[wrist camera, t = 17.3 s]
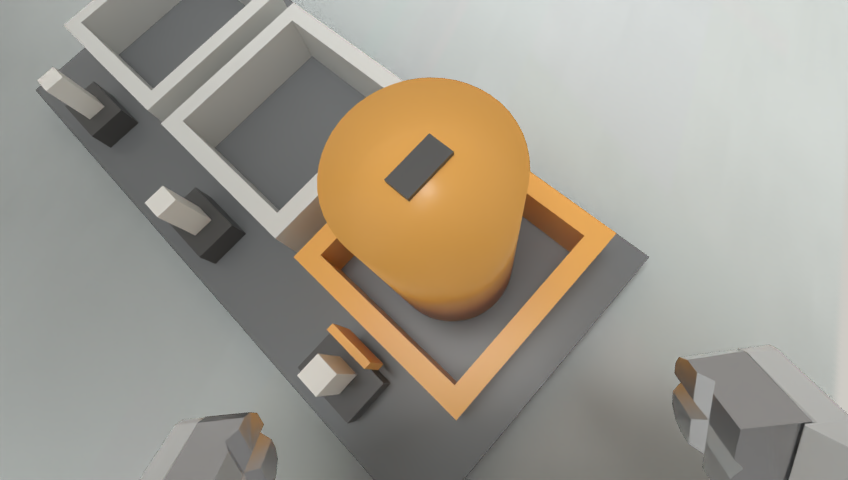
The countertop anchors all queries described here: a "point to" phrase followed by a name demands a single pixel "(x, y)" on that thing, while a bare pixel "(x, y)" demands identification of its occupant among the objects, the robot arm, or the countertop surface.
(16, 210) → the countertop surface
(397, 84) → the cap
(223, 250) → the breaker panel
